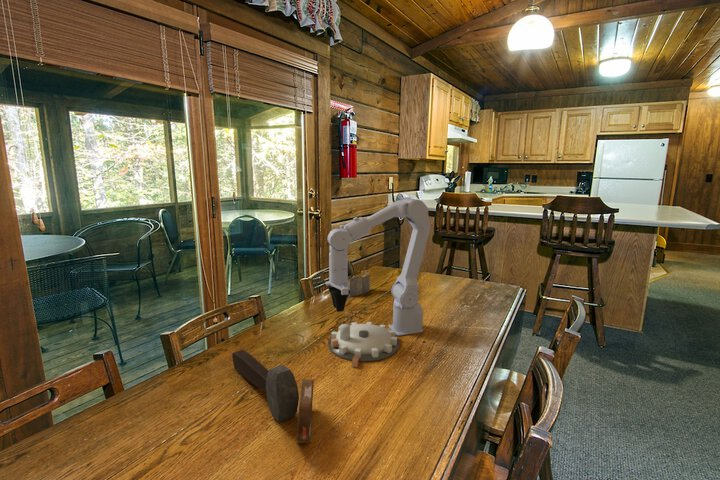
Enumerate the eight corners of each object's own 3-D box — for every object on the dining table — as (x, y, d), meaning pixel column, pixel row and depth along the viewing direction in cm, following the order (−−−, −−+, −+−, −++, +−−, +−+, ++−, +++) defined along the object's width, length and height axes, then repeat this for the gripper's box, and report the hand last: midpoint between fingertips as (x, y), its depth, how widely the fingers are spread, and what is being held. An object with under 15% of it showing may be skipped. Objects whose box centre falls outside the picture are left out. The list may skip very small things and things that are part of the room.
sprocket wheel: (381, 323, 128) (381, 307, 126) (408, 351, 109) (408, 332, 108) (323, 332, 121) (323, 315, 120) (341, 363, 102) (341, 343, 101)
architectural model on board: (364, 290, 165) (365, 269, 163) (369, 292, 163) (369, 270, 161) (345, 296, 158) (345, 274, 156) (350, 298, 155) (349, 275, 153)
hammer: (231, 381, 101) (280, 428, 78) (226, 341, 100) (275, 376, 76) (248, 375, 104) (301, 418, 80) (244, 336, 103) (296, 369, 79)
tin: (301, 404, 86) (300, 371, 84) (315, 403, 86) (314, 370, 84) (295, 453, 71) (294, 414, 69) (312, 452, 71) (311, 414, 70)
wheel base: (382, 324, 129) (383, 320, 128) (414, 357, 107) (414, 352, 107) (320, 333, 122) (320, 329, 121) (340, 370, 100) (340, 365, 100)
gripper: (320, 263, 120) (321, 302, 123) (331, 275, 107) (332, 319, 110) (341, 261, 123) (341, 300, 125) (355, 273, 109) (355, 316, 112)
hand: (338, 309), depth 118 cm, fingers open, 3 cm apart
